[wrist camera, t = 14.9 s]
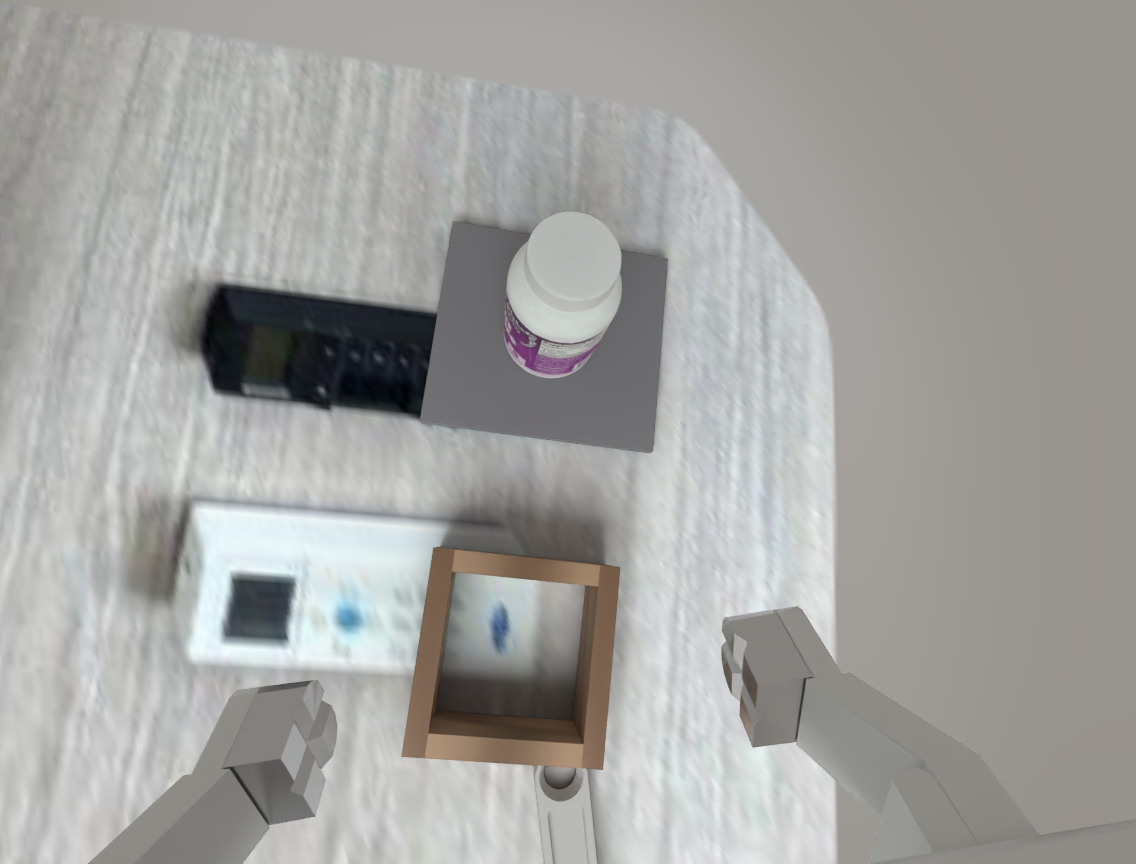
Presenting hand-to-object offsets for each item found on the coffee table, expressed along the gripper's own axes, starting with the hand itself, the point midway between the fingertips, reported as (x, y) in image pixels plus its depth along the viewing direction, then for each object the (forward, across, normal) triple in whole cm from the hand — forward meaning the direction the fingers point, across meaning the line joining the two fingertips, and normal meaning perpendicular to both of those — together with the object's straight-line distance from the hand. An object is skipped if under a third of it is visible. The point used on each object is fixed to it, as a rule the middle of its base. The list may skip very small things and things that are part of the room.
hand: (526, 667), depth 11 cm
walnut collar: (+13, +2, +14) cm, 19 cm away
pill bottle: (+23, -2, +1) cm, 23 cm away
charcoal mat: (+24, -2, +1) cm, 24 cm away
